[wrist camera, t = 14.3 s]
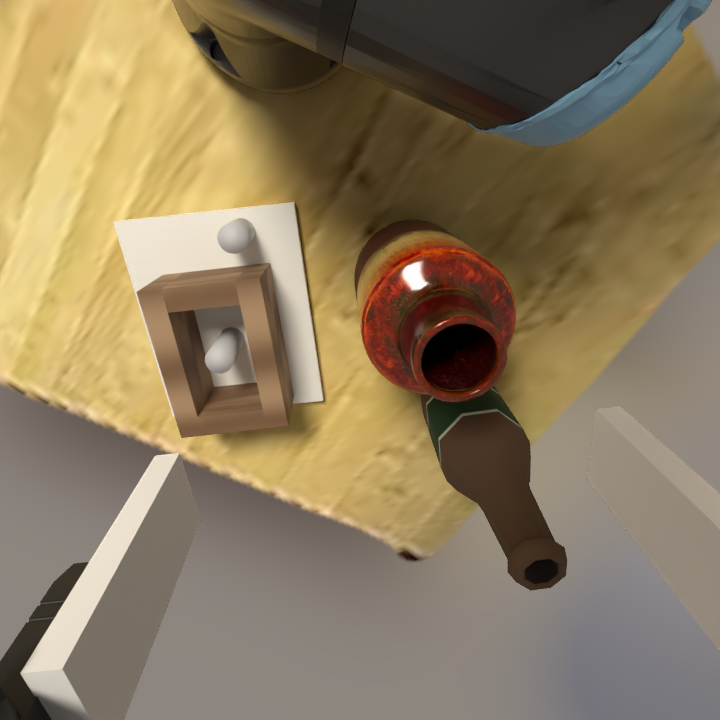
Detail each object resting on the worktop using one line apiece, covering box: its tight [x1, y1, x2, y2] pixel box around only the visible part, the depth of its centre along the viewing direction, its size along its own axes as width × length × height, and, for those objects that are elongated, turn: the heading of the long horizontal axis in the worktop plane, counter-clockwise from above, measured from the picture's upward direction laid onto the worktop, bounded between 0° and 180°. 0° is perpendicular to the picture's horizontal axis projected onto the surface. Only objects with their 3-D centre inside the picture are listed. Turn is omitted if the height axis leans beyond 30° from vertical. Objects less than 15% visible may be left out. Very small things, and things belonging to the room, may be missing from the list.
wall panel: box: [113, 202, 323, 417], centre depth 42 cm, size 20×16×6 cm
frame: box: [136, 263, 294, 438], centre depth 42 cm, size 14×10×6 cm
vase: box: [355, 220, 516, 402], centre depth 35 cm, size 11×11×20 cm
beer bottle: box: [421, 386, 567, 590], centre depth 39 cm, size 8×8×24 cm
